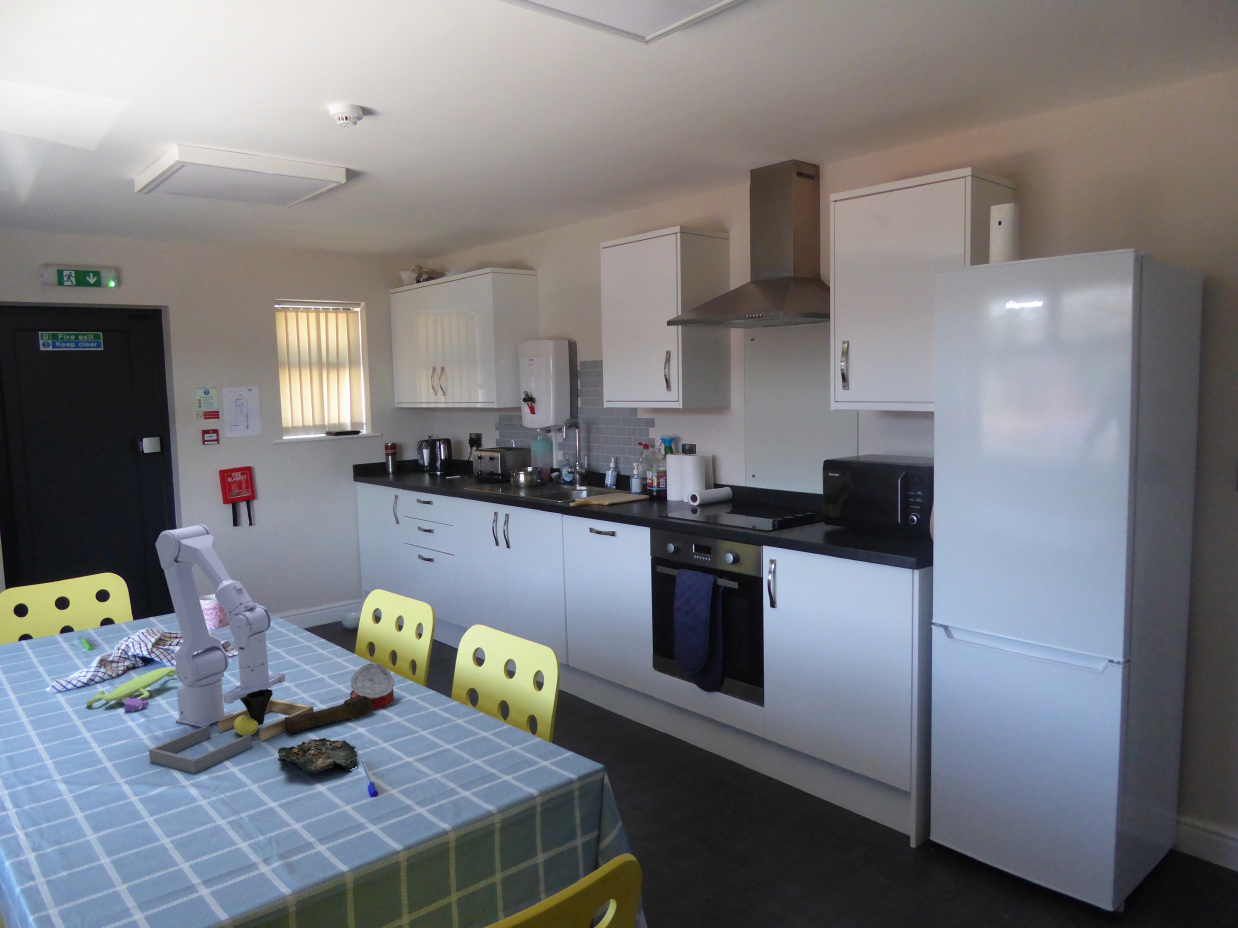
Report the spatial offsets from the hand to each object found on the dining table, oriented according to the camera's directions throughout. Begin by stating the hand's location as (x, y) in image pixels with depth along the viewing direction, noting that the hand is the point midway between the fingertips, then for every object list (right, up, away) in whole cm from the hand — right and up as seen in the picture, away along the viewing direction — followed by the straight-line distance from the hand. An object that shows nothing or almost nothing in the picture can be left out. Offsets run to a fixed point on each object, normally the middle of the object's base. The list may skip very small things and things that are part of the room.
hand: (258, 723), depth 181 cm
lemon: (-1, -2, -3) cm, 3 cm away
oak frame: (+1, -1, +2) cm, 3 cm away
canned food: (+21, 0, +13) cm, 25 cm away
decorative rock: (+19, -2, -17) cm, 26 cm away
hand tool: (+15, -1, +2) cm, 15 cm away
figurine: (-36, -1, +25) cm, 44 cm away
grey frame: (-6, -2, -12) cm, 14 cm away
